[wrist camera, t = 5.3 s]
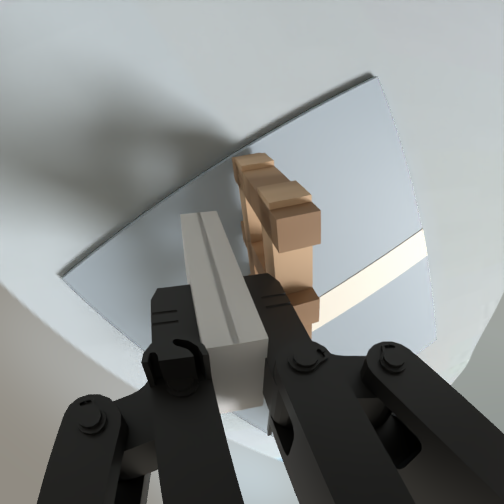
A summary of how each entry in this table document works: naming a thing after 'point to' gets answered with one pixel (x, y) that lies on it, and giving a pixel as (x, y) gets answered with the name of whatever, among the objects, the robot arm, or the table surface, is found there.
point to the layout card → (324, 255)
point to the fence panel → (280, 230)
